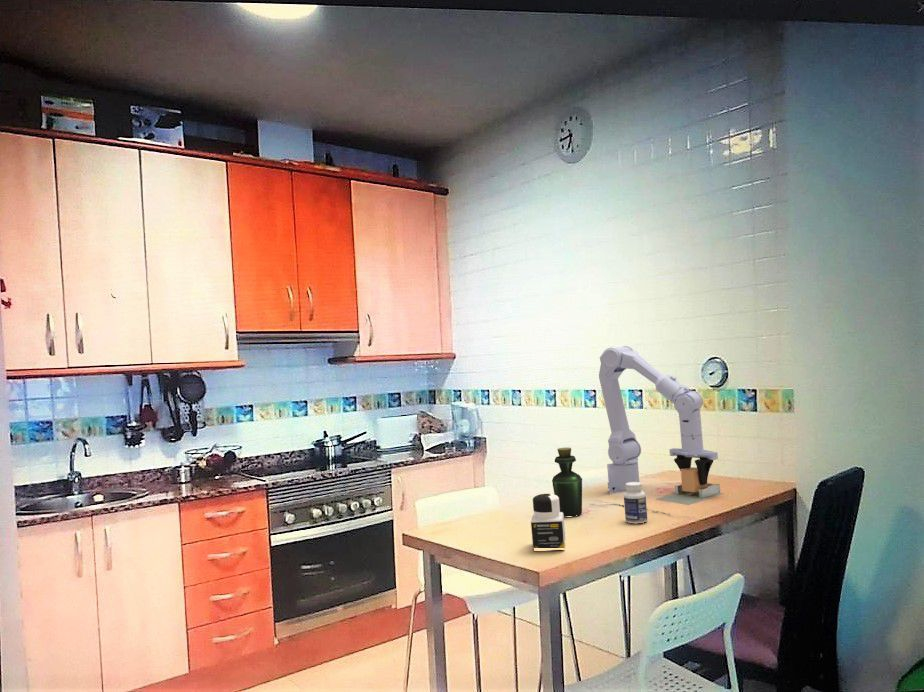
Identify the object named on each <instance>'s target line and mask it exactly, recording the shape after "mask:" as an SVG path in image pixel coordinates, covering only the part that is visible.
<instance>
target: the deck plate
mask: <svg viewBox="0 0 924 692" xmlns="http://www.w3.org/2000/svg"><path fill="white" fill-rule="evenodd" d="M724 494H725V493H724V492H720V494H716V495H713V496H710V497H707V498H704V499H701V498H696V497H689V496H683V495H675V493H672V494H669V495H666V496H661V497H659V498H655V500H656V501H663V502H667V503H668V502H669V503H674V504H681V505H687V506H689V505H693V504H696V503H698V502H699V503H700V502H702V501H705V500H710V499H712V498H715V497H718V496H721V495H724Z"/></svg>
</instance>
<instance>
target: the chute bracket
mask: <svg viewBox="0 0 924 692" xmlns="http://www.w3.org/2000/svg"><path fill="white" fill-rule="evenodd" d="M707 484H708V487H704V488H701V489H699V491H698V492H688V491H682V483H679V484H676V485H674V494H675V495H683V496H689V497H696V498H701V499H704V498H707V497H710V496H713V495H716V494H720V493H721V487H720V486H721V484H720V483H719V484H718V483H712V482H707Z"/></svg>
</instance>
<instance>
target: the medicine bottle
mask: <svg viewBox="0 0 924 692" xmlns="http://www.w3.org/2000/svg"><path fill="white" fill-rule="evenodd" d="M532 508H533V513H532V517H531V521H530V528H531V538H532V539H531V540H532V549H533V548H565V549H566V543H565V540H566V541H567V539H566V531H565V530H566V529H565V519H564V518H565V517H564V515H563V512H560V506H559V497H558V496H557V495H554V493H542V494H541V493H540V494H537V495H536V496H533V498H532Z"/></svg>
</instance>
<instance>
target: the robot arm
mask: <svg viewBox="0 0 924 692" xmlns="http://www.w3.org/2000/svg"><path fill="white" fill-rule="evenodd" d="M599 362H600V366H599V371H598V379H599V383H600V388H601V393H602V396H603V402H604V404H605V406H604V407H605V410H606V414H607V415H606V416H607V419H608V423H609V427H610V431H611V434H610V435H609V437H608V439H607V441H608V442H607V443H608V450H607V455H608V457H609V459H610V460H611V462H612V463H607V464H606V468H607V480H608V482H607V489H608V490H609V495H614V494H617V493H620V492H626V491H627V490H626V483H629V482H640V473H639V472H640V471H639V470H640V469H639V457H640V455H641V453H642V447H641V444H640V443H639V441H638V440H637V437H636V434H635V433H634V432H633V431H632V430H631V429H630V425H629V422H628V421H629V420H628V417H627V413H626V412H627V411H626V409H625V404H624V399H623V395H622V392H621V387H620V381H619V378H620V376H621V375H622V374H623V372H624V371H625V370H626V369H629V370H630V369H631V370H634V371H636V372H637V373H638V374H640V375H641V376H642V377H644V378H646V379H647V380H648V381H650V382H651V383H653V384H654V385H655V390H656V392H658V393H659V394H660V395H662V396H663V397H665V398H666V399H667V400H668V401H670V403H672V404H673V406H674V409H675V411H676V412H677V413H678V419H679V429H680V443H681V448H676V447H675V448H670V449H669V456H670V457H675V458H674V459H673V461H674V462H675V464H676V466H677V467H678V469H679V470H680V469H685V468H692V460H693V458H695V460H694V464H695V466H696V468H697V469H698V473H699V482H700V485H705V484H707V483H708V478H709V474H710V469H711V468H712V465H713V463H714V461H715V460H719V454H718V452H717V451H714V450H713V451H711V450H707V449H704V440H703V439H704V438H703V430H702V429H703V427H702V419H701V418H702V417H701V409H702V407H703V403H704V402H703V397H702V396H701V395H700V394H699V393H698V392H697V391H695V390H690V388H689V387H688V386H684V385H683V384H682V383H680V382H679V381H678V380H677V377H676V376H674V375H670V374H662V373H661V372H659V371H658V370H657V369H656V368H655V367H654V366H653V365H651V363H649V362H648V361H647V360H646V359H645V358H643V356H641V355H640V353H639V352H638V351H636V350H634V349H633V348H632V347H630V346H628V345H623V346H617V347H607V348H605V350H604V351H603V352H602V353H601V355H600V356H599ZM640 483H641V482H640Z"/></svg>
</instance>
